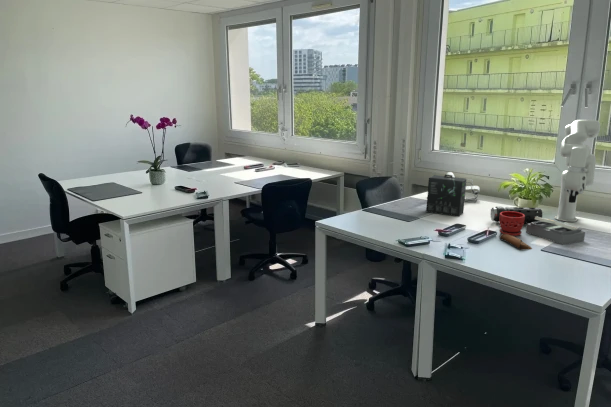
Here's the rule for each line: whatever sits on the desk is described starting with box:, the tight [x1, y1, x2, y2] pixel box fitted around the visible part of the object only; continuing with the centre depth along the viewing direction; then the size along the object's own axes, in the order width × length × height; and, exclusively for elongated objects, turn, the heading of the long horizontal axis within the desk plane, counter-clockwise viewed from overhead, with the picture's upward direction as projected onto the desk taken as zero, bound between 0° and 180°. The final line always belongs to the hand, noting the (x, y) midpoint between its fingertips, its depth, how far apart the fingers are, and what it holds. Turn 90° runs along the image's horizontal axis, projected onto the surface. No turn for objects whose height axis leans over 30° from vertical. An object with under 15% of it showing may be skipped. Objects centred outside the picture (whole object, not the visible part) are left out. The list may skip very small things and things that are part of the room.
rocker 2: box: [555, 221, 577, 230], centre depth 246 cm, size 12×5×2 cm, turn 112°
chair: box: [446, 171, 481, 203], centre depth 341 cm, size 13×25×20 cm, turn 68°
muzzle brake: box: [490, 206, 543, 224], centre depth 279 cm, size 10×28×10 cm, turn 85°
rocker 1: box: [535, 216, 557, 224], centre depth 258 cm, size 12×5×2 cm, turn 112°
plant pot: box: [498, 211, 525, 237], centre depth 257 cm, size 13×13×12 cm
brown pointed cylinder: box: [499, 233, 533, 251], centre depth 241 cm, size 18×7×7 cm
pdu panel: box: [525, 221, 586, 246], centre depth 255 cm, size 16×28×6 cm, turn 21°
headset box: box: [425, 173, 467, 218], centre depth 302 cm, size 22×12×26 cm, turn 58°
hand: (572, 202), depth 249 cm, fingers closed
